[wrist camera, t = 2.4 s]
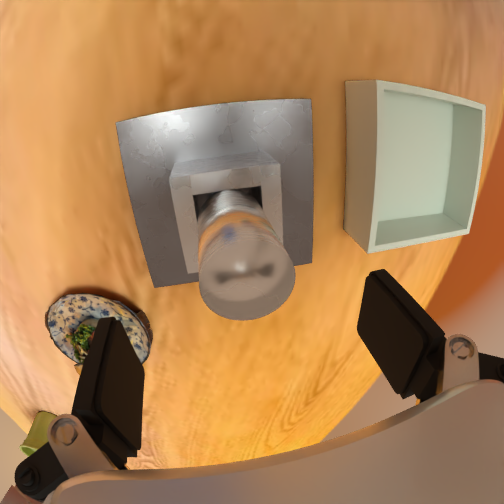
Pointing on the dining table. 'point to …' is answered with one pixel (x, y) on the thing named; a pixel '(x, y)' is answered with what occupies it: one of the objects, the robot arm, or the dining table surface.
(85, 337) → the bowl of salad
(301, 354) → the dining table surface
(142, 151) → the stud block
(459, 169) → the bin
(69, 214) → the dining table surface
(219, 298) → the grey piece
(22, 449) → the plant pot
